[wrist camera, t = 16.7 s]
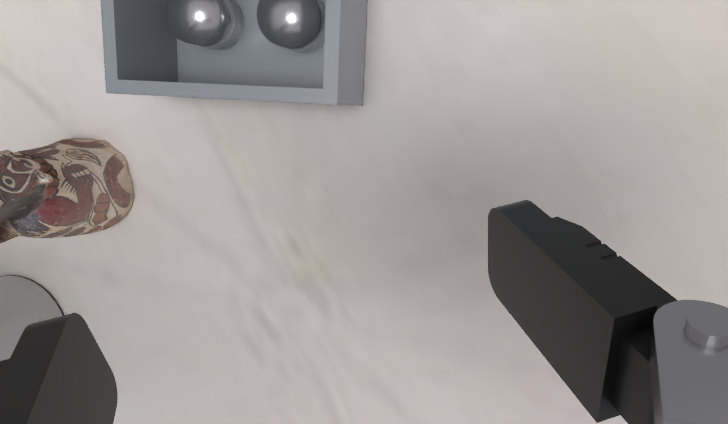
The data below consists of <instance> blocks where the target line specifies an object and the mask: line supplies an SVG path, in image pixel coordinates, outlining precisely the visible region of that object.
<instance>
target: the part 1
mask: <svg viewBox="0 0 728 424" xmlns="http://www.w3.org/2000/svg"><path fill="white" fill-rule="evenodd" d="M165 19H166V22H167V25H168V27H169V29H170V31H171V32H172V33H173V35H174V36H175V37H176V38H178V39H179V40H181V41H183V42H185V43H189V44H193V45H198V46H202V47H206V48H210V49H215V50H226V49H229V48H231V47H233V46H234V45H235V44H236V43H237V42H238V41H239V40H240V38H241V36H242V34H243V31H244V15H243V12H242V10H241V8H240V6H239V5H238V3H237V2H236V1H235V0H166V3H165Z"/></svg>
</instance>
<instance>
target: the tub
mask: <svg viewBox="0 0 728 424" xmlns="http://www.w3.org/2000/svg"><path fill="white" fill-rule="evenodd" d="M235 1H236V2H237V3H238V5H239V6H240V8H241V10H242V12H243V15H244V31H243V34H242V36H241V38H240V40H239V41H238V42H237V43H236V44H235V45H234V46H233V47H231V48H229V49H226V50H215V49H210V48H206V47H202V46H198V45H193V44H189V43H185V42H183V41H181V40H179V39H178V38H176V37H175V36H174V35H173V33H172V32H171V31H170V29H169V27H168V25H167V22H166V19H165V3H166V0H101V13H102V30H103V46H104V63H105V79H106V93H114V94H134V95H154V96H173V97H193V98H213V99H233V100H253V101H272V102H292V103H312V104H332V105H363V87H364V65H365V44H366V22H367V1H368V0H321V1H322V2H323V3H324V4H325V6H326V9H325V43H324V44H323V45H322V46H321V47H320V48H319V49H317V50H315V51H313V52H309V53H300V52H296V51H293V50H290V49H287V48H284V47H281V46H278V45H276V44H273V43H272V42H270V41H269V40H268V39H267V38H266V37H265V36H264V35H263V33H262V32H261V30H260V28H259V25H258V21H257V7H258V3H259V0H235Z"/></svg>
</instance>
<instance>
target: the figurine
mask: <svg viewBox="0 0 728 424" xmlns="http://www.w3.org/2000/svg"><path fill="white" fill-rule="evenodd" d="M133 200H134V195H133V183H132V180H131V176H130V173H129V171H128V165H127V160H126V158H125V156H124V155H123V154H122V153H121V152H119V151H117V150H116V149H115V148H114V147H113V146H112V145H111V144H110V143H108V142H107V141H105V140H93V139H89V140H84V139H65V140H61V141H58V142H56V143H53V144H51V145H48V146H44V147H41V148H36V149H31V150H25V151H19V152H15V153H12V152H11V151H9V150H4V151H1V152H0V243H2V242H5V241H7V240H9V239H12V238H14V237H17V236H25V237H33V238H54V237H69V236H76V235H83V234H89V233H93V232H97V231H100V230H104V229H107V228H109V227H111V226H112V225H114V224H115V223H117V222H118V221H119V220H121V219H122V218H123V217H124V216H125V215H126V214H127V213H128V212H129V210H130V208H131V206H132V203H133Z"/></svg>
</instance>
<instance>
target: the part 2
mask: <svg viewBox="0 0 728 424" xmlns="http://www.w3.org/2000/svg"><path fill="white" fill-rule="evenodd" d="M325 9H326V6H325V4H324V3H323V2H322V1H321V0H259V3H258V7H257V21H258V25H259V28H260V30H261V32H262V33H263V35H264V36H265V37H266V38H267V39H268V40H269V41H270V42H272V43H273V44H276V45H278V46H281V47H284V48H287V49H290V50H293V51H296V52H300V53H309V52H313V51H315V50H317V49H319V48H320V47H321V46H322V45H323V44H324V43H325Z"/></svg>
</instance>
